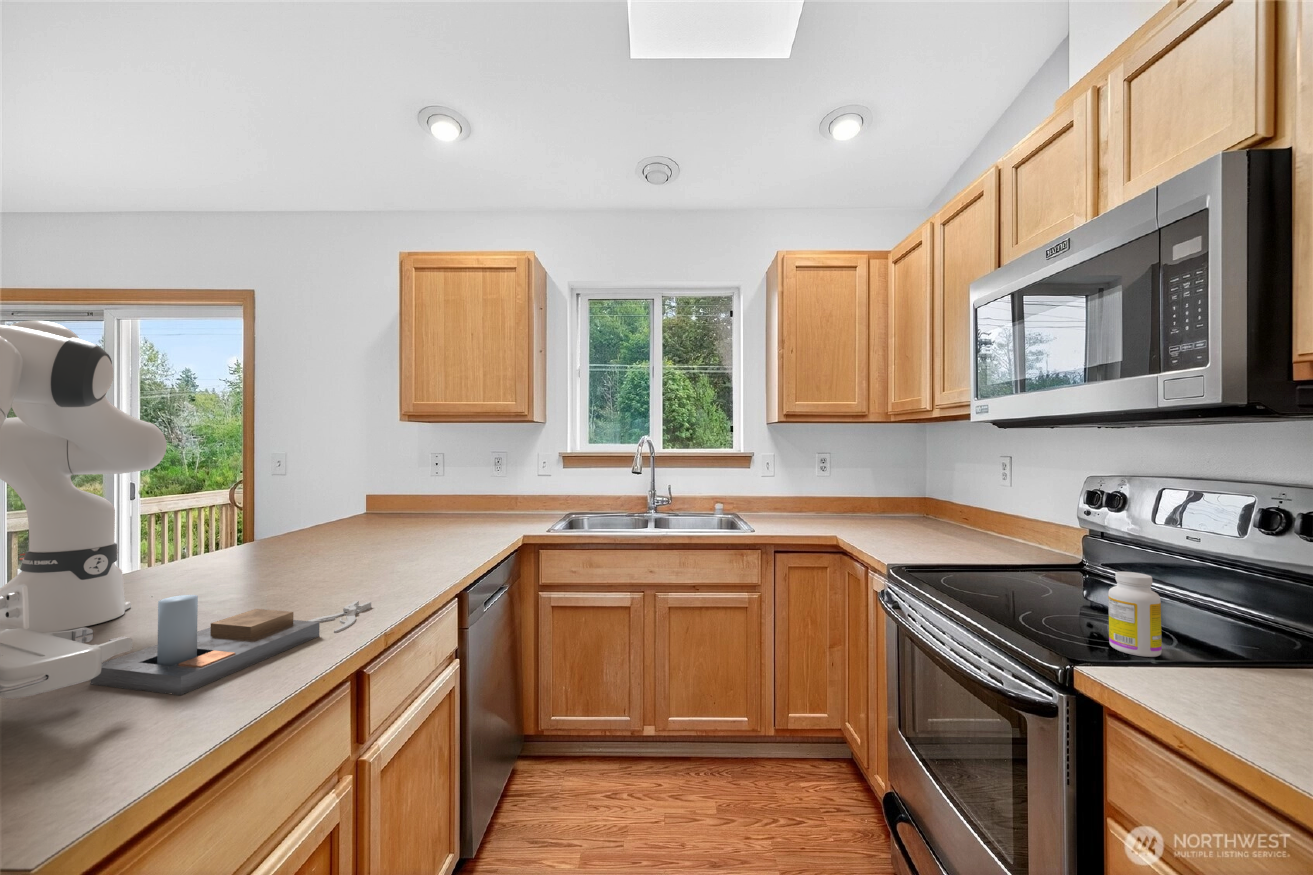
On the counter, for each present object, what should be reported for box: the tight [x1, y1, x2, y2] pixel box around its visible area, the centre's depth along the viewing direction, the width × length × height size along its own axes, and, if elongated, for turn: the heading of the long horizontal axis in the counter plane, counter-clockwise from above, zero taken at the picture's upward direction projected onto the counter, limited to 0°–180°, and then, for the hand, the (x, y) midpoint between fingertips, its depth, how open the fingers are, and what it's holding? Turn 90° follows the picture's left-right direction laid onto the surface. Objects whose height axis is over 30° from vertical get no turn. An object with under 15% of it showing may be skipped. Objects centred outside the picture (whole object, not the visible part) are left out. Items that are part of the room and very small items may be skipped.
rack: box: [89, 608, 321, 696], centre depth 85 cm, size 16×23×4 cm
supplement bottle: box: [1107, 571, 1163, 658], centre depth 90 cm, size 7×7×13 cm
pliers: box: [307, 600, 372, 634], centre depth 105 cm, size 10×2×15 cm
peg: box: [157, 594, 199, 666], centre depth 80 cm, size 4×4×11 cm
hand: (109, 638), depth 72 cm, fingers open, 8 cm apart
